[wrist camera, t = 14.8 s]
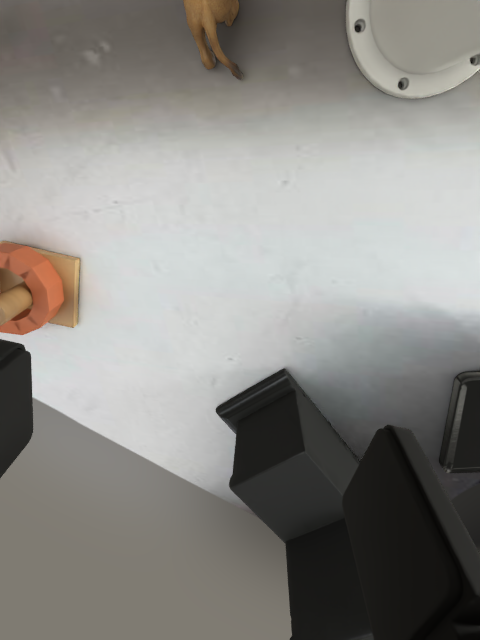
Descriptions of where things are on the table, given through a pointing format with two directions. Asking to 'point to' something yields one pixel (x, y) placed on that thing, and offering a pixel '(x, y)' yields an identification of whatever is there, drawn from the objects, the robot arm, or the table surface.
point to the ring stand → (20, 296)
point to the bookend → (300, 502)
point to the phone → (463, 427)
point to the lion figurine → (211, 28)
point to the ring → (32, 287)
